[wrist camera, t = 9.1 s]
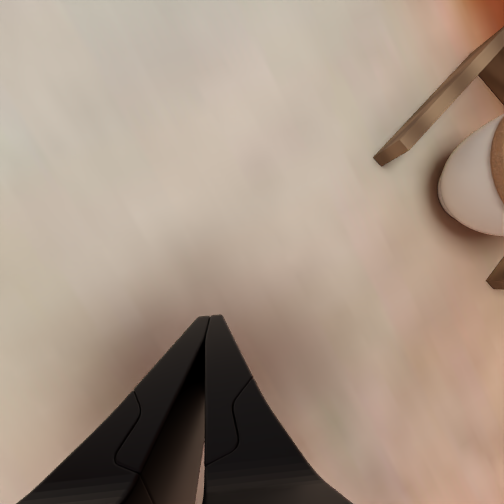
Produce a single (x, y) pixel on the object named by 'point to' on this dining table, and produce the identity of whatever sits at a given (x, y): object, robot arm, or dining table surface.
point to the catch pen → (477, 63)
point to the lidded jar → (476, 180)
